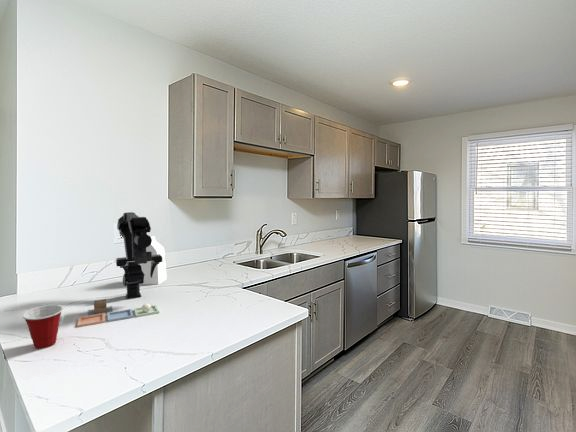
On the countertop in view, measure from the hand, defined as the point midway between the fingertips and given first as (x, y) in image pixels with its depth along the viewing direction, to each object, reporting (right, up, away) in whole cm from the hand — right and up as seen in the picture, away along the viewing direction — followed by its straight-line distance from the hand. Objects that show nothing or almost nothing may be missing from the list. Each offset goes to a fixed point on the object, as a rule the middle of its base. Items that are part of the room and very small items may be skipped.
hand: (140, 278), depth 146 cm
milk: (-11, -10, +40) cm, 42 cm away
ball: (+7, -12, -9) cm, 17 cm away
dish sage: (+7, -13, -9) cm, 17 cm away
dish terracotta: (-10, -13, -19) cm, 25 cm away
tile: (-13, -13, -9) cm, 20 cm away
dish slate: (-2, -13, -14) cm, 19 cm away
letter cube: (-13, -12, -9) cm, 20 cm away
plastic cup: (-14, -15, -38) cm, 44 cm away
